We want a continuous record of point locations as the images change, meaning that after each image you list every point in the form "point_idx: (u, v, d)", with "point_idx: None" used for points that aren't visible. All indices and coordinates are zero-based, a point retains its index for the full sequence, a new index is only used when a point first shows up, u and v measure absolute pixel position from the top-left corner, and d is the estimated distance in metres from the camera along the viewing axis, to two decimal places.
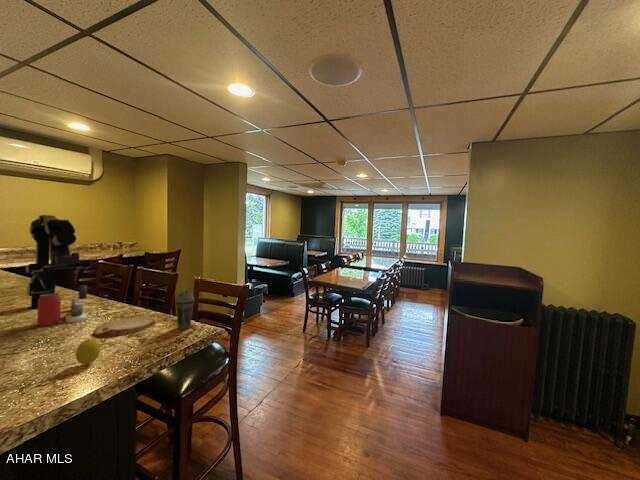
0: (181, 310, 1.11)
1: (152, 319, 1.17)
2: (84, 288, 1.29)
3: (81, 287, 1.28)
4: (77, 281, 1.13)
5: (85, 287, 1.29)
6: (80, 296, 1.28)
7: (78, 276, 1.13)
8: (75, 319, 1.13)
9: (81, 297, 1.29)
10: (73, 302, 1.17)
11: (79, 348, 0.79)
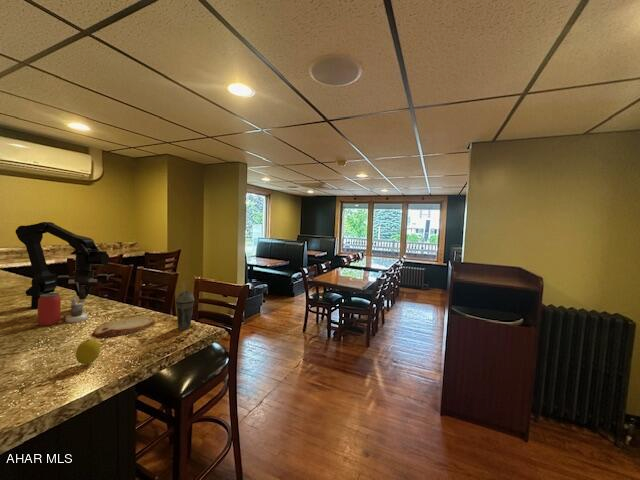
0: (181, 310, 1.11)
1: (152, 319, 1.17)
2: (84, 288, 1.29)
3: (81, 287, 1.28)
4: (87, 292, 1.30)
5: (85, 287, 1.29)
6: (80, 296, 1.28)
7: (88, 288, 1.30)
8: (75, 319, 1.13)
9: (81, 297, 1.29)
10: (73, 302, 1.17)
11: (79, 348, 0.79)
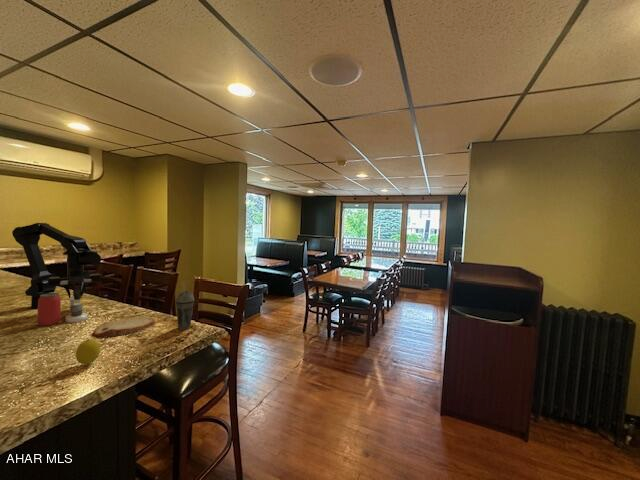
0: (181, 310, 1.11)
1: (152, 319, 1.17)
2: (78, 288, 1.28)
3: (76, 287, 1.27)
4: (82, 293, 1.29)
5: (80, 287, 1.28)
6: (75, 296, 1.27)
7: (83, 288, 1.29)
8: (75, 319, 1.13)
9: (76, 297, 1.27)
10: (72, 302, 1.16)
11: (79, 348, 0.79)
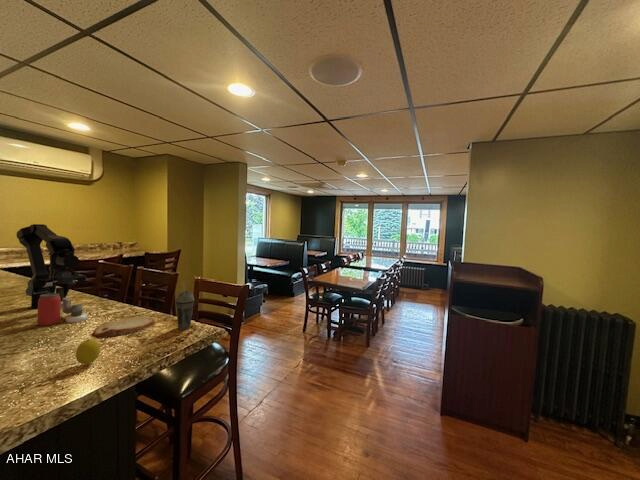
0: (181, 310, 1.11)
1: (152, 319, 1.17)
2: (62, 289, 1.23)
3: (60, 289, 1.23)
4: (65, 294, 1.25)
5: (63, 289, 1.24)
6: None
7: (67, 290, 1.25)
8: (75, 319, 1.13)
9: None
10: (69, 303, 1.15)
11: (79, 348, 0.79)
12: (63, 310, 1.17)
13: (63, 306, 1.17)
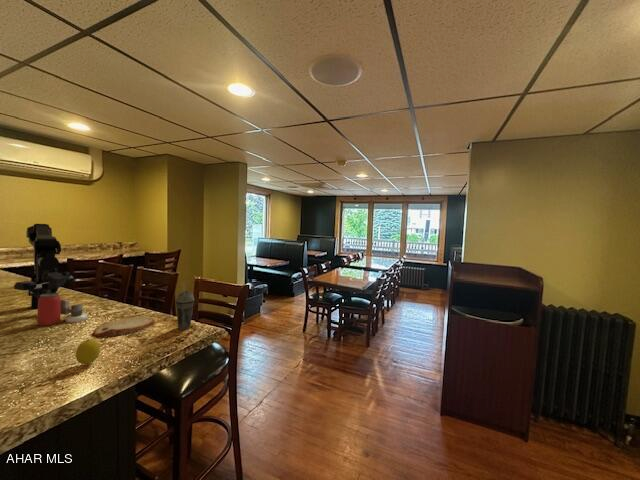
0: (181, 310, 1.11)
1: (151, 319, 1.17)
2: (50, 291, 1.20)
3: (48, 291, 1.19)
4: None
5: (51, 291, 1.20)
6: None
7: (54, 292, 1.21)
8: (75, 319, 1.13)
9: None
10: (67, 303, 1.14)
11: (79, 348, 0.79)
12: None
13: None
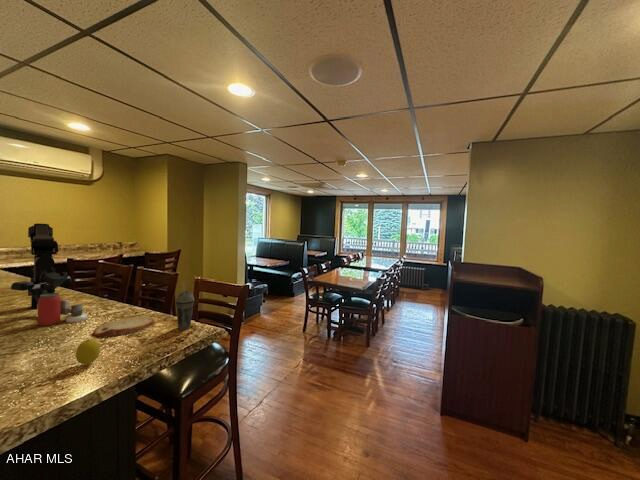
0: (181, 310, 1.11)
1: (151, 319, 1.17)
2: (47, 292, 1.18)
3: (44, 292, 1.17)
4: None
5: (47, 291, 1.19)
6: None
7: (51, 292, 1.20)
8: (75, 319, 1.13)
9: None
10: (67, 304, 1.14)
11: (79, 348, 0.79)
12: None
13: None
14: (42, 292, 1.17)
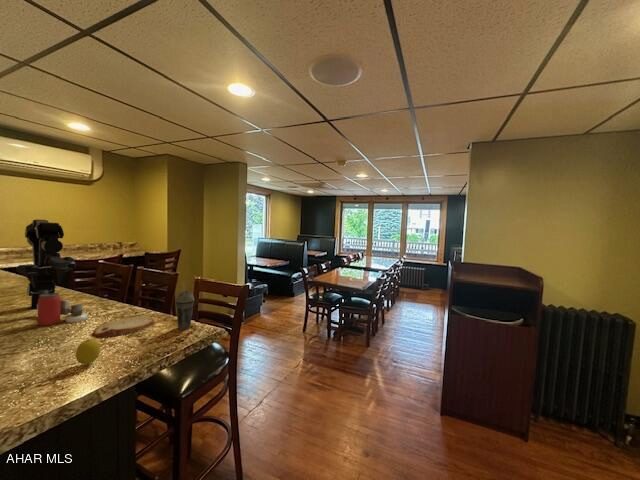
0: (181, 310, 1.11)
1: (151, 319, 1.18)
2: (47, 292, 1.18)
3: (44, 292, 1.17)
4: (61, 280, 1.24)
5: (47, 291, 1.19)
6: None
7: (63, 275, 1.24)
8: (75, 319, 1.13)
9: None
10: (67, 304, 1.14)
11: (79, 348, 0.79)
12: None
13: None
14: (42, 292, 1.17)
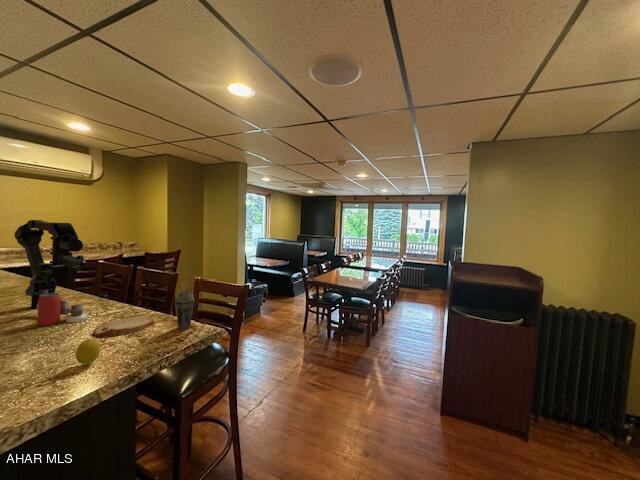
0: (181, 310, 1.11)
1: (151, 318, 1.18)
2: (47, 292, 1.18)
3: (44, 292, 1.17)
4: (73, 278, 1.28)
5: (47, 291, 1.19)
6: None
7: (74, 274, 1.29)
8: (75, 319, 1.13)
9: None
10: (67, 304, 1.14)
11: (79, 348, 0.79)
12: None
13: None
14: (42, 292, 1.17)
